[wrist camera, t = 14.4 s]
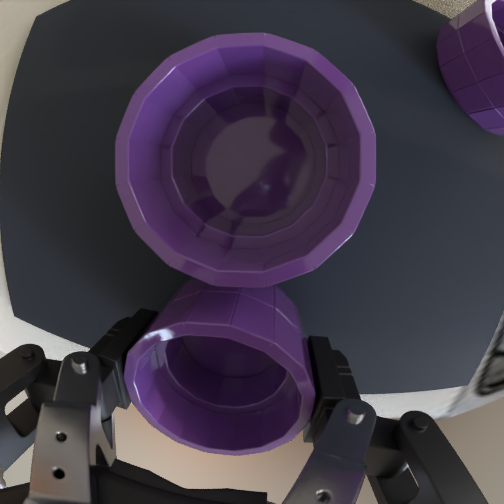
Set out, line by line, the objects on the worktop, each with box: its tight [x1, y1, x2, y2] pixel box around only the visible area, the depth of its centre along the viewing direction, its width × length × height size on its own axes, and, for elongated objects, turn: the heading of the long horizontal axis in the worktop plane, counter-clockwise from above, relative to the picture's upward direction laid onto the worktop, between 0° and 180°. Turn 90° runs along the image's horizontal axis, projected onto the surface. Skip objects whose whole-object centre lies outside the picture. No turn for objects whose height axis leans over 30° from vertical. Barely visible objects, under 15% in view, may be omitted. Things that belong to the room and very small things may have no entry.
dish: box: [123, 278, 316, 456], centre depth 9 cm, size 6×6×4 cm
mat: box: [0, 0, 504, 394], centre depth 10 cm, size 30×20×1 cm, turn 83°
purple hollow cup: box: [115, 33, 376, 288], centre depth 8 cm, size 6×6×4 cm
